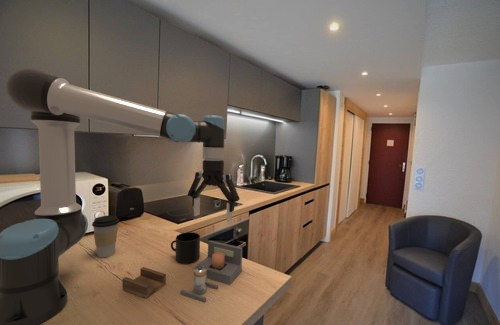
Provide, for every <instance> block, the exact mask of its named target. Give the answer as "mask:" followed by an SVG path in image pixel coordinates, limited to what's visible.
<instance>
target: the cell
mask: <svg viewBox="0 0 500 325" xmlns="http://www.w3.org/2000/svg"><path fill="white" fill-rule="evenodd" d="M192 273H193V281H192V282H193V287H192V288H193V292H192V293H195V294H198V295H201V296H203V295H204V294H205V293H206V292H207V286H206V281H207V278H206V277H207V268H206V267H205V266H197V267H195V266H194V268H193V272H192Z"/></svg>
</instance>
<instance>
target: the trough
mask: <svg viewBox="0 0 500 325" xmlns="http://www.w3.org/2000/svg"><path fill="white" fill-rule="evenodd" d="M166 274H167V273H163V272H160V271H157V270H155V269H151V268H149V267H148V268H147V267H144V266H142V267H141V268H140V274H139V275H138V276H137V277H135V278H134V279H133V278H130V277H127V276H125V277H123V278H122V280H121V281H122V285H121V286H122V290H124V291H126V292H128V293H131V294H134V295H136V296H139V297H141V298H144V299H148V298H149V297H151V295H153V294H154V293H155V292H157V291H159V290H160V289H162V287H164V286H165V285H166V284H167V275H166Z"/></svg>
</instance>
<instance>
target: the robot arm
mask: <svg viewBox="0 0 500 325" xmlns="http://www.w3.org/2000/svg"><path fill="white" fill-rule="evenodd" d="M5 90H6V93H7V96H8V97H9V100H11V101H12V102H13V103H14V104H15V105H16V106H17V107H19V108H20V109H23V110H24V111H27V112H30V121H31V123H33V124H34V125H35V126H36V127H37V128H38V152H39V154H38V156H39V157H38V158H39V177H40V178H39V183H40V184H39V186H40V188H39V189H40V206H39V207H37V209H36V210H35V211H34V219H30V220H25V221H24V222H19V223H18V222H17V223H15V224H12V225H10V226H8V227H6V228H5V229H3V230H2V231H0V325H40V324H42V323H44V322H46V321H48V320H50V319H51V318H53V317H55V316H56V315H57V314H59V312H61V311H62V310H63V308H64V307H65V306H66V305H67V303H68V291H67V289H66V287H65V285H64V283H63V281H62V279H61V277H60V274H59V272H60V271H59V269H60V267H59V265H60V264H59V262H60V261H59V258H60V257H61V256H62V255H63V254H65V252H67V251H69V250H70V249H71V248H72V247H74V246H75V245H76V244H78V243H79V242H80V241H81V240H82V238H83V237H84V236H85V235H86V233H87V230H88V229H89V227H88V226H89V222H88V218H87V216H86V215H85V214H84V213H83V211H82V210H83V209H82V205H81V204H79V203H77V196H76V195H77V194H76V193H77V192H76V191H77V188H76V153H75V152H76V151H75V150H76V147H75V146H76V145H75V144H76V143H75V142H76V141H75V129H77V128H78V127H79V126H80V125H81V118H82V119H83V118H84V119H88V120H92V121H96V122H100V123H105V124H109V125H111V126H115V127H120V128H123V129H124V128H125V129H129V130H133V131H135V132H141V133H145V134H148V135H154V136H157V137H159V138H164V139H166V140H167V141H168V142H172V143H174V142H175V143H201V144H202V159H203V160H202V171H195V174H194V180H193V181H192V183H191V185H190V188H189V190H188V193H187V196H188V197H191V198H192V199H191V200H192V202H191V203H192V207H193V216H194V217H197V216H200V212H201V211H200V210H201V197H200V195H201V194H202V192H203V191H204V189H205V188H206V187H207V186H213V187H217V188H218V189H219V190H220V191H221V193H222V194H223V196H224V197H225V199H227V200H226V201H228V202H227V203H226V222H228V223H229V222H230V221H232V219H233V213H234V212H235V203H236V202H238V201H240V197H239V193H238V191H237V188H236V186H235V184H234V181H233V176H232V175H233V174H232V173H229V174H224V169H225V161H224V160H223V159H225V132H226V131H225V119H224V117H223V116H221V115H214V114H211V115H209V114H207V115H204V116H203V117H202V120H193V118H191V117H190V116H188V115H187V114H182V113H174V112H172V111H171V112H170V111H167V110H164V109H159V108H156V107H153V106H149V105H146V104H142V103H138V102H135V101H131V100H127V99H123V98H120V97H117V96H113V95H110V94H105V93H103V92H98V91H94V90H90V89H88V88H84V87H80V86H77V85H74V84H72V83H71V82H69V81H68V80H67V78H66V79H65V78H62V77H59V76H56V75H54V74H53V75H52V74H51V73H50V72H49V73H48V72H46V71H44V70H41V69H37V68H21V69H17V70H16V71H14V72H12V73H11V74H9V76H8V77H7V80H6V82H5ZM202 179H203V180H202ZM201 180H202V181H201ZM224 181H225V182H226V183H225V182H224ZM200 182H201V183H200ZM199 184H200V185H199ZM226 185H227V186H226Z"/></svg>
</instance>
